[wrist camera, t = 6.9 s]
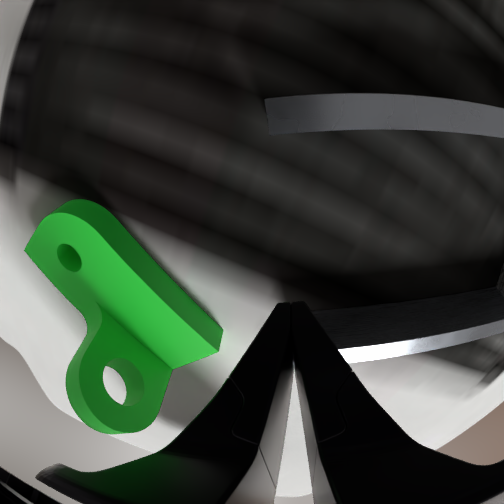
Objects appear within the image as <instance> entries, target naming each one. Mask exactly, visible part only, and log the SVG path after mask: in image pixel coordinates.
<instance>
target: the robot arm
mask: <svg viewBox="0 0 504 504" xmlns="http://www.w3.org/2000/svg"><path fill="white" fill-rule="evenodd" d="M294 369H295V376H296V383H297V389H298V395H299V402H300V408H301V415H302V421H303V428H304V435H305V441H306V448H307V455H308V462H309V469H310V477H311V484H312V491H313V498H314V504H504V460H502V461H500V462H498V463H495V464H492V465H475V464H471V463H468V462H465V461H462V460H459V459H457V458H453V457H451V456H448V455H445V454H443V453H440V452H438V451H435V450H433V449H430V448H427V447H425V446H423V445H421V444H419V443H417V442H416V441H415V440H413V439H412V438H411V437H410V436H408V435H407V434H406V433H405V432H404V431H403V429H402V428H401V427H400V426H399V425H398V424H397V423H396V422H395V421H394V420H393V419H392V418H391V417H390V416H389V414H388V413H387V412H386V411H385V410H384V409H383V408H382V407H381V406H380V405H379V404H378V403H377V401H376V400H375V399H374V398H373V397H372V396H371V394H370V393H369V392H368V391H367V389H366V388H365V387H364V385H363V384H362V383H361V381H360V380H359V379H358V377H357V376H356V374H355V373H354V372H352V369H351V367H350V366H349V364H348V363H347V361H346V360H345V359H344V357H343V356H342V354H341V353H340V351H339V350H338V348H337V347H336V346H335V344H334V343H333V341H332V340H331V338H330V337H329V336H328V334H327V333H326V331H325V330H324V328H323V327H322V326H321V324H320V323H319V321H318V320H317V318H316V317H315V316H314V314H313V313H312V311H311V310H310V309H309V307H308V306H307V304H306V303H305V302H304V301H298V302H292V303H290V302H284V303H278V304H277V305H276V306H275V308H274V309H273V311H272V313H271V314H270V316H269V317H268V319H267V320H266V322H265V323H264V325H263V326H262V328H261V329H260V331H259V332H258V334H257V336H256V337H255V339H254V340H253V342H252V343H251V345H250V346H249V348H248V349H247V351H246V352H245V353H244V355H243V356H242V358H241V359H240V361H239V362H238V364H237V365H236V367H235V368H234V370H233V371H232V373H231V374H230V375H229V378H227V380H226V381H225V382H224V384H223V385H222V387H221V388H220V390H219V391H218V392H217V393H216V395H215V396H214V397H213V399H212V400H211V401H210V402H209V403H208V405H207V406H206V407H205V408H204V409H203V410H202V411H201V412H200V413H199V414H198V416H197V417H196V418H195V419H194V420H193V421H192V422H191V423H190V424H189V425H188V426H187V427H186V428H185V429H184V430H183V431H182V432H181V433H180V434H179V435H178V436H177V437H176V438H175V439H174V440H173V441H172V442H171V443H170V444H169V445H167V446H166V447H165V448H163V449H161V450H160V451H158V452H156V453H154V454H151V455H148V456H146V457H143V458H140V459H137V460H134V461H131V462H128V463H125V464H122V465H119V466H115V467H112V468H109V469H105V470H101V471H97V472H80V471H77V470H75V469H72V468H70V467H67V466H65V465H63V464H55V465H53V466H50V467H48V468H45V469H43V470H42V471H41V472H39V473H38V474H37V475H36V477H35V478H36V479H37V480H39V481H41V482H42V483H44V484H46V485H47V486H49V487H51V488H53V489H55V490H56V491H58V492H60V493H62V494H64V495H66V496H68V497H70V498H72V499H74V500H76V501H78V502H80V503H82V504H274V498H275V493H276V487H277V482H278V476H279V471H280V465H281V459H282V453H283V446H284V440H285V433H286V427H287V420H288V413H289V405H290V398H291V390H292V382H293V373H294ZM0 504H62V503H60V502H58V501H57V500H55V499H53V498H51V497H50V496H48V495H46V494H44V493H43V492H41V491H39V490H37V489H36V488H34V487H33V486H31V485H29V484H28V483H26V482H24V481H23V480H21V479H19V478H18V477H16V476H15V475H13V474H12V473H10V472H9V471H7V470H5V469H4V468H3V467H1V466H0Z"/></svg>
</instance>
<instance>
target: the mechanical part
mask: <svg viewBox="0 0 504 504" xmlns="http://www.w3.org/2000/svg"><path fill="white" fill-rule="evenodd" d="M24 251H25V252H26V253H27V254H28V256H29V257H30V258H31V259H32V261H33V262H34V263H35V264H36V265H37V266H38V268H39V269H40V270H41V271H42V272H43V273H44V274H45V276H46V277H47V278H48V279H49V280H50V281H51V282H52V283H53V284H54V286H55V287H56V288H57V289H58V290H59V291H60V292H61V293H62V294H63V295H64V296H65V297H66V298H67V299H68V300H69V301H70V302H71V303H72V304H73V305H74V306H75V307H76V308H77V309H78V310H79V311H80V312H81V314H82V315H83V316H84V318H85V320H86V323H87V335H86V337H85V339H84V340H83V342H82V344H81V345H80V347H79V349H78V350H77V352H76V354H75V355H74V357H73V359H72V360H71V362H70V364H69V366H68V369H67V373H66V391H67V395H68V399H69V401H70V404H71V406H72V408H73V409H74V411H75V413H76V414H77V415H78V417H79V418H80V419H81V420H82V421H83V422H84V423H85V424H86V425H88V426H89V427H91V428H92V429H94V430H96V431H99V432H102V433H106V434H122V433H134V432H138V431H141V430H143V429H145V428H147V427H148V426H149V425H151V424H152V422H153V421H154V420H155V419H156V417H157V415H158V413H159V410H160V407H161V404H162V401H163V398H164V394H165V391H166V388H167V385H168V382H169V379H170V376H171V373H172V370H173V369H175V368H178V367H181V366H183V365H186V364H189V363H191V362H194V361H197V360H199V359H202V358H204V357H207V356H209V355H212V354H214V353H217V352H219V347H220V343H221V338H222V334H223V329H222V328H221V327H220V326H219V325H218V324H217V323H215V322H214V321H213V320H212V319H211V318H210V317H209V316H208V315H207V314H206V313H205V312H204V311H203V310H202V309H201V308H200V307H199V306H198V305H197V304H196V303H195V302H194V301H193V300H192V299H191V298H190V297H189V296H188V295H187V294H186V293H185V292H184V291H183V290H182V289H181V288H180V287H179V286H178V285H177V284H176V283H175V282H174V281H173V280H172V279H171V278H170V277H169V276H168V275H167V274H166V273H165V272H164V270H163V269H162V268H161V267H160V266H159V265H158V264H157V263H156V262H155V261H154V260H153V259H152V258H151V257H150V256H149V254H148V253H147V252H146V251H145V250H144V249H143V248H142V247H141V246H140V245H139V244H138V242H137V241H136V240H135V239H134V238H133V237H132V236H131V235H130V234H129V232H128V231H127V230H126V229H125V228H124V227H123V226H122V225H121V223H120V222H119V221H118V220H117V219H116V218H115V217H114V216H113V215H112V214H111V213H110V212H109V211H108V210H106V209H105V208H104V207H102V206H101V205H99V204H97V203H95V202H92V201H89V200H84V199H76V200H71V201H68V202H66V203H65V204H63V205H62V206H60V207H59V208H58V209H56V210H55V211H53V212H52V213H51V214H49V215H48V216H47V217H45V218H44V219H43V220H42V221H41V223H40V224H39V226H38V227H37V229H36V231H35V232H34V234H33V236H32V237H31V239H30V241H29V242H28V244H27V246H26V248H25V250H24ZM105 366H109V367H111V368H113V369H114V370H116V371H117V372H118V373H119V374H120V375H121V377H122V378H123V380H124V382H125V385H126V391H127V394H126V399H125V402H124V403H123V405H121V404H119V403H117V402H116V401H114V400H113V399H112V398H111V397H110V396H109V394H108V393H107V391H106V389H105V387H104V383H103V371H104V368H105Z"/></svg>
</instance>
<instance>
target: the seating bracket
mask: <svg viewBox="0 0 504 504" xmlns="http://www.w3.org/2000/svg"><path fill="white" fill-rule="evenodd" d="M264 100H265V107H266V114H267V121H268V128H269V135H279V134H290V133H302V132H315V131H333V130H361V129H401V130H429V131H445V132H457V133H468V134H477V135H486V136H493V137H500V138H504V108H501V107H497V106H492V105H487V104H482V103H476V102H470V101H464V100H457V99H450V98H442V97H433V96H422V95H410V94H392V93H325V94H307V95H294V96H283V97H273V98H267V99H264ZM312 313H313V314H314V316H315V317H316V318H317V320H318V321H319V323H320V324H321V326H322V327H323V328H324V330H325V331H326V333H327V334H328V336H329V337H330V338H331V340H332V341H333V343H334V344H335V346H336V347H337V348H338V350H339V351H340V353H341V354H342V356H343V357H344V359H345V360H346V361H347V363H353V362H361V361H369V360H377V359H384V358H390V357H396V356H402V355H408V354H414V353H419V352H424V351H430V350H434V349H439V348H444V347H448V346H453V345H457V344H461V343H465V342H469V341H473V340H477V339H481V338H484V337H488V336H492V335H495V334H499V333H502V332H504V263H503V266H502V269H501V273H500V276H499V279H498V282H497V285H496V287H491V288H485V289H480V290H475V291H469V292H463V293H457V294H451V295H445V296H439V297H432V298H425V299H418V300H411V301H404V302H396V303H388V304H380V305H371V306H362V307H352V308H342V309H331V310H319V311H312Z"/></svg>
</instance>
